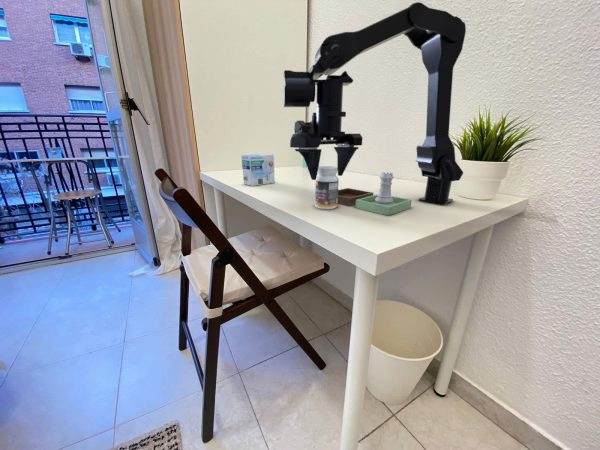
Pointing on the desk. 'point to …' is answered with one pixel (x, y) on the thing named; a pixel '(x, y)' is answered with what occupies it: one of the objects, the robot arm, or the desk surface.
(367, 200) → the sage tray
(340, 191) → the walnut tray
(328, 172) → the pill bottle
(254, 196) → the desk surface
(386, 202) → the rook chess piece
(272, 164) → the light bulb box
